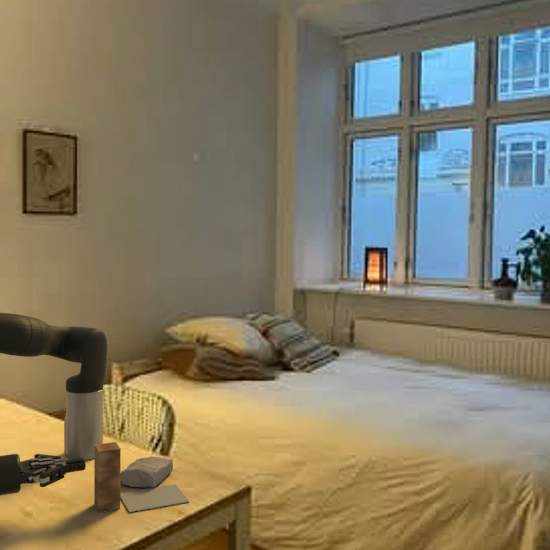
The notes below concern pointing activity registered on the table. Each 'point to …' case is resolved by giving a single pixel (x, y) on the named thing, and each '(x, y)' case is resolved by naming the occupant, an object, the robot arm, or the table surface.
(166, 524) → the table surface
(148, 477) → the stone block
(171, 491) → the felt pad
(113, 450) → the walnut block
